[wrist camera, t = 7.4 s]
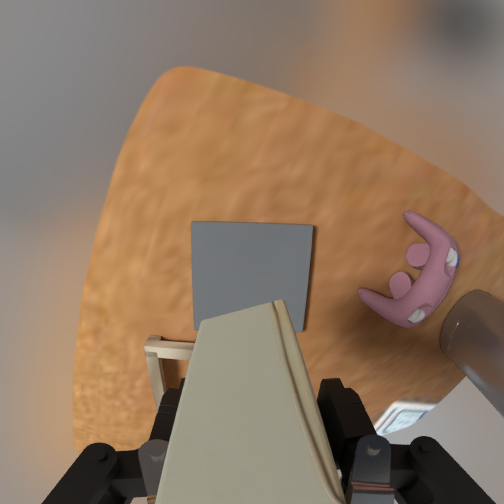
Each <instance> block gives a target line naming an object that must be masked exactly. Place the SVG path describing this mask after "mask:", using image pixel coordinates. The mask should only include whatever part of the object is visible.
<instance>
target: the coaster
mask: <svg viewBox="0 0 504 504" xmlns="http://www.w3.org/2000/svg"><path fill="white" fill-rule="evenodd" d="M312 233H313V225H311V224H288V223H260V222H224V221H192V222H191V248H192V287H193V311H194V330H199V327H200V324H201V321H203V320H205V319H209V318H213V317H217V316H220V315H224V314H228V313H232V312H236V311H239V310H243V309H247V308H250V307H254V306H258V305H262V304H265V303H269V302H273V301H277V300H280V299H283V300H284V301H285V303H286V306H287V309H288V312H289V315H290V318H291V321H292V324H293V327H294V330H295V332H302V330H303V322H304V314H305V306H306V297H307V288H308V278H309V268H310V257H311V246H312Z"/></svg>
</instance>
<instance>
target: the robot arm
mask: <svg viewBox="0 0 504 504" xmlns="http://www.w3.org/2000/svg"><path fill="white" fill-rule="evenodd" d="M440 343H441V348H442V350H443V352H444V353H445V354H446V355H447V356H448V357H449V358H450V359H451V360H452V361H453V362H454V363H455V364H456V365H457V366H458V367H459V369H460V370H461V371H462V372H463V373H464V374H465V375H466V376H467V377H468V378H469V379H470V380H471V382H472V383H473V384H474V385H475V386H476V387H477V388H478V389H479V390H480V391H481V393H482V394H483V395H484V396H485V397H486V398H487V399H488V400H489V402H490V403H491V404H492V405H493V406H494V407H495V408H496V410H497V411H498V412H499V413H500V414H501V415H502V417H503V418H504V303H502V302H501V301H499V300H498V299H496V298H495V297H493V296H491V295H490V294H488V293H486V292H485V291H482V290H474V291H472V292H469V293H468V294H466V295H465V296H463V297H462V298H461V299H460V300H459V301H458V302H457V303H456V304H455V306H454V307H453V308H452V310H451V311H450V313H449V314H448V316H447V318H446V320H445V322H444V325H443V328H442V332H441V338H440ZM185 379H186V378H182V379H181V383H180V386H179V389H174V388H169V389H168V390H167V391H166V392H165V393H164V394H163V396H162V399H161V402H160V406H159V409H158V413H157V415H156V418H155V422H154V425H153V428H152V432H151V435H150V438H149V440H148V441H147V442H145V443H144V444H142V445H141V447H140V448H139V449H136V450H130V451H115V449H114V448H113V447H112V446H110V445H108V444H106V443H93V444H90V445H89V446H87V447H86V448H85V449H84V450H83V452H82V453H81V454H80V455H79V457H78V458H77V459H76V460H75V462H74V463H73V464H72V466H71V467H70V468H69V469H68V471H67V472H66V473H65V475H64V476H63V477H62V478H61V480H60V481H59V482H58V483H57V485H56V486H55V487H54V489H53V490H52V491H51V492H50V494H49V495H48V496H47V498H46V499H45V500H44V501H43V503H42V504H130V503H131V501H132V499H133V498H134V497H147V496H148V499H147V502H148V504H155V502H156V497H157V493H158V488H159V484H160V479H161V475H162V471H163V466H164V462H165V458H166V453H167V449H168V445H169V441H170V437H171V433H172V429H173V425H174V421H175V417H176V413H177V409H178V405H179V402H180V398H181V394H182V390H183V387H184V383H185ZM317 404H318V408H319V411H320V414H321V418H322V421H323V424H324V428H325V431H326V434H327V438H328V441H329V445H330V448H331V451H332V455H333V458H334V462H335V465H336V469H337V470H339V469H340V470H341V473H342V476H341V478H340V483H341V486H342V490H343V494H344V497H345V501H346V504H394V498H395V500H396V501H397V502H398V504H496V503H495V502H494V501H493V500H492V499H491V498H490V497H489V496H488V495H487V494H486V493H485V492H484V491H483V489H482V488H481V487H480V486H479V485H478V484H477V483H476V482H475V481H474V480H473V479H472V478H471V477H470V476H469V475H468V474H467V473H466V471H465V470H464V469H462V467H460V465H459V464H458V463H457V462H456V461H455V460H454V459H453V458H452V457H451V456H450V455H449V454H448V453H447V451H445V450H444V448H443V447H442V446H441V445H440V444H439V443H438V442H437V441H436V440H435V439H433V438H431V437H427V436H421V437H418V438H416V439H414V440H413V441H412V442H411V444H410V445H398V444H390V443H389V441H388V440H387V439H386V438H384V437H382V436H380V435H377V433H376V431H375V429H374V427H373V425H372V422H371V420H370V418H369V416H368V414H367V412H366V411H365V408H364V405H363V404H362V401H361V399H360V397H359V395H358V394H357V393H356V392H355V391H354V390H353V389H351V388H344V386H343V384H342V382H341V380H340V378H330V379H322V381H321V385H320V389H319V394H318V398H317Z"/></svg>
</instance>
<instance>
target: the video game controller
mask: <svg viewBox="0 0 504 504" xmlns="http://www.w3.org/2000/svg"><path fill="white" fill-rule="evenodd" d="M403 216H404V218H405V220H406V221H407V223H408V224H409V225H410V226H411V227H412V228H413V229H414V230H415V231H416V232H417V233H418V234H419V235H421V236H422V237H423V238H424V239H425V240H426V241H427V242H426V243H422V244H421V243H416V244H413V245H411V246H410V247H409V249H408V251H407V255H406V259H407V261H408V263H409V264H410V265H411V266H413V267H414V268H416V269H422V271H421V273H420V274H419V276H418V278H417V279H416V281H415V283H414V282H413V280H412V279H411V277H409V276H408V275H407V274H406V273H404V272H398V273H396V274H394V275H393V276H392V278H391V279H390V282H389V287H390V290H391V292H392V295H393V299H390V298H386V297H384V296H382V295H380V294H378V293H375V292H373V291H371V290H368V289H365V288H359V289H358V295H359V297H360V298H361V299H362V300H363V302H364V303H365V304H367V305H368V306H369V307H371V308H372V309H373V310H374V311H376V312H377V313H378V314H379V315H381V316H382V317H384V318H386V319H388V320H390V321H391V322H393V323H395V324H396V325H398V326H400V327H405V328H413V327H415V326H417V325H419V324H420V323H421V322H422V321H423V320H424V319H425V318H427V317H428V316H429V315H430V314H431V313H432V312H433V311H434V310H435V309H436V308H437V307H438V306H439V304H440V303H441V302H442V300H443V299H444V297H445V296H446V294H447V292H448V290H449V289H450V287H451V284H452V282H453V279H454V277H455V273H456V269H457V267H458V264H459V260H460V249H459V247H458V245H457V243H456V241H455V240H454V238H453V237H452V236H451V235H450V234H449V233H448V232H447V231H445V230H444V229H443V228H442V227H440V226H439V225H437V224H436V223H434V222H432V221H431V220H429V219H427V218H425V217H423V216H422V215H420V214H418V213H415V212H412V211H405V212H404V213H403Z"/></svg>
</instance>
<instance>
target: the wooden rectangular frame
mask: <svg viewBox="0 0 504 504" xmlns="http://www.w3.org/2000/svg"><path fill="white" fill-rule="evenodd" d="M194 345H195V343H186V342H172V341H162V339H161V336H152V335H150V336H149V338H148V340H147V341H146V343H145V345H144V348H145V354H146V360H147V365H148V371H149V376H150V381H151V386H152V391H153V395H154V400H155V404H156V409H157V413H158V409H159V406H160V402H161V399H162V396H163V394H164V393H165V392H166V391H167V388H166V383H165V377H164V370H163V364H162V358H168V359H180V360H191V356H192V352H193V349H194Z"/></svg>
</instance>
